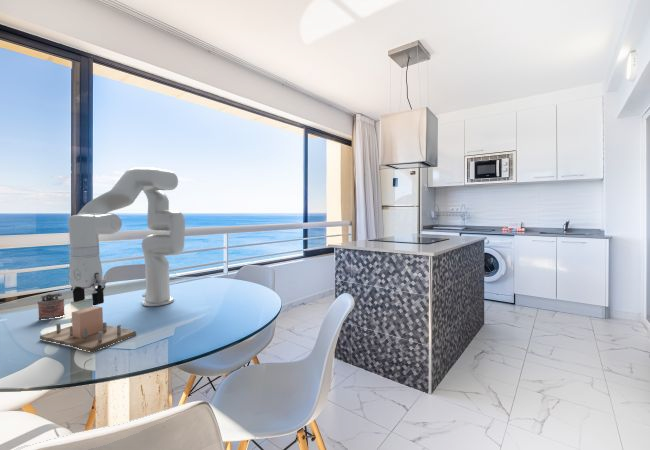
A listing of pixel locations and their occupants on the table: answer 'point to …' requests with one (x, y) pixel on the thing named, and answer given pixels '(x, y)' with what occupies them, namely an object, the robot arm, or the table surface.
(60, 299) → the lighter
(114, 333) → the rack
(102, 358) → the table surface
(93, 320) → the salmon pink block
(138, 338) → the table surface
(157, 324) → the table surface
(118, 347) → the table surface
